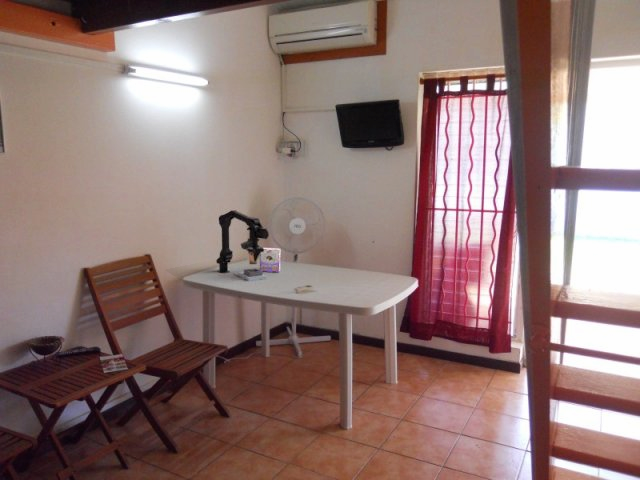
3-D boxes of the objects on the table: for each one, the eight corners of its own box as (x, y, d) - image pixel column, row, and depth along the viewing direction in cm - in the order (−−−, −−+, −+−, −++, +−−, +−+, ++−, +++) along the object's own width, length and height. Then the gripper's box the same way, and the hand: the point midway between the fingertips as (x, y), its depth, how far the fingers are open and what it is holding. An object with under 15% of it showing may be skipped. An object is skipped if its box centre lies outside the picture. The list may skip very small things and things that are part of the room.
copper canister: (247, 263, 330) (248, 251, 329) (254, 262, 333) (255, 250, 332) (251, 264, 326) (251, 252, 325) (258, 264, 329) (258, 252, 328)
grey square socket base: (237, 275, 336) (237, 268, 335) (254, 273, 344) (254, 266, 343) (248, 280, 323) (248, 273, 322) (266, 278, 330) (266, 271, 329)
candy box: (280, 271, 354) (281, 248, 352) (278, 272, 349) (279, 249, 346) (261, 269, 356) (261, 247, 353) (259, 271, 350) (260, 248, 347)
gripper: (236, 235, 330) (235, 258, 333) (248, 240, 315) (248, 264, 317) (251, 234, 336) (250, 257, 339) (264, 239, 321) (263, 262, 324)
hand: (253, 260), depth 329 cm, fingers closed on copper canister, 5 cm apart
